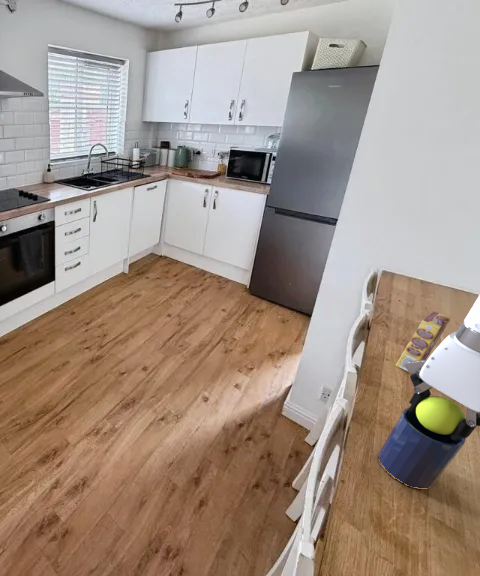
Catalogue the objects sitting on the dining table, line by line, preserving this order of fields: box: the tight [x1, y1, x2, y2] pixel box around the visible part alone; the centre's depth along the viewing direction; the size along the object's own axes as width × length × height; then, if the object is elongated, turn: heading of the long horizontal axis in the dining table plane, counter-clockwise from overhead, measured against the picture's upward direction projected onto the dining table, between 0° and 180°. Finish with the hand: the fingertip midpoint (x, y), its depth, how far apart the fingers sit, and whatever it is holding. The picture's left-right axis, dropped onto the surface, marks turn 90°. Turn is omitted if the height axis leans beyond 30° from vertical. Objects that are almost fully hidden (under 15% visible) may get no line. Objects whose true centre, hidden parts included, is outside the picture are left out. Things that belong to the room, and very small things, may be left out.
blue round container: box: [377, 406, 467, 488], centre depth 69 cm, size 9×9×12 cm
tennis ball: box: [416, 395, 466, 434], centre depth 65 cm, size 6×6×6 cm
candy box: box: [395, 311, 452, 373], centre depth 98 cm, size 9×4×15 cm, turn 125°
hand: (435, 421), depth 66 cm, fingers closed on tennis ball, 5 cm apart
